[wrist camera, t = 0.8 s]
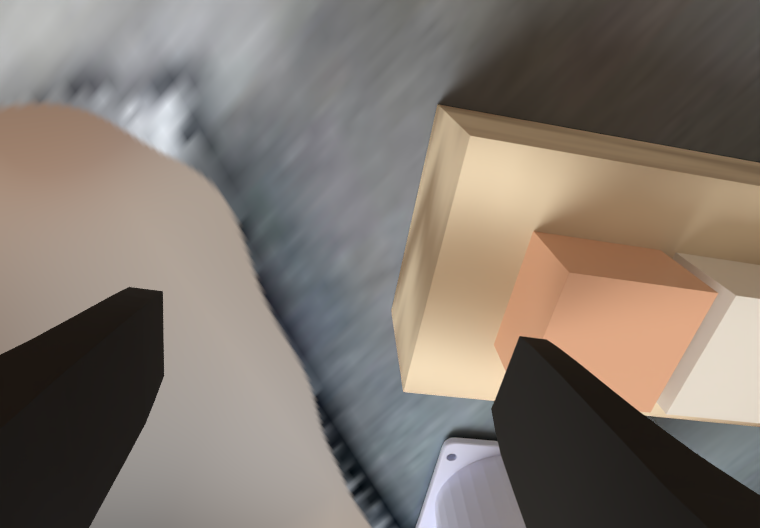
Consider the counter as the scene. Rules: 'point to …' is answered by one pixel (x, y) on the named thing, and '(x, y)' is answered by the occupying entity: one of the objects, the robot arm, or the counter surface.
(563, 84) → the counter surface
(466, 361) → the wooden box
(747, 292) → the cream square block
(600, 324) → the terracotta tile
